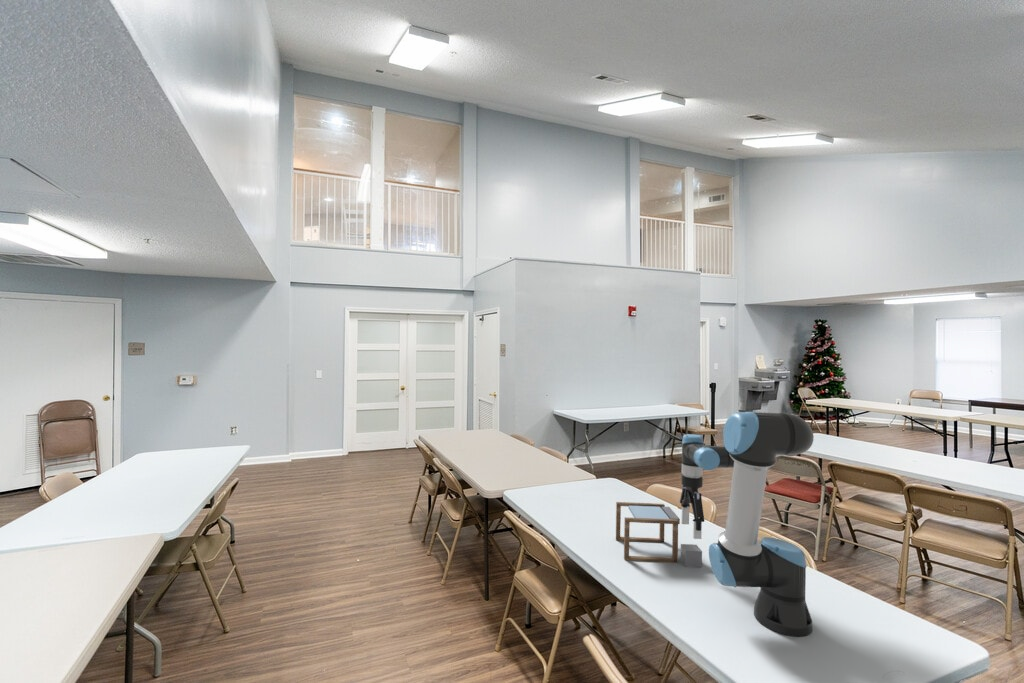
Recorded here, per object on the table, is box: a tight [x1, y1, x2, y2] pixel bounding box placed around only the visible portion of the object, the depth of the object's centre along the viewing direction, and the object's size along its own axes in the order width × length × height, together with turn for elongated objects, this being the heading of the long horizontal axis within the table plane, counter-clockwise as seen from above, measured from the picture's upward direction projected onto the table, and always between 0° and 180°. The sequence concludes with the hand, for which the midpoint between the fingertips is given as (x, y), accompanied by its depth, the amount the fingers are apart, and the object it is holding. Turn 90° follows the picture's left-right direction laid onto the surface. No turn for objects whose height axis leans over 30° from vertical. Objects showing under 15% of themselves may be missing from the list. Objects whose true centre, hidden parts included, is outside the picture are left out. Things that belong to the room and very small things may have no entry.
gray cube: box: [680, 543, 703, 568], centre depth 174 cm, size 6×6×6 cm
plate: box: [628, 505, 681, 525], centre depth 185 cm, size 16×17×2 cm
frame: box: [615, 501, 679, 563], centre depth 185 cm, size 20×20×16 cm
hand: (691, 531), depth 174 cm, fingers open, 13 cm apart
